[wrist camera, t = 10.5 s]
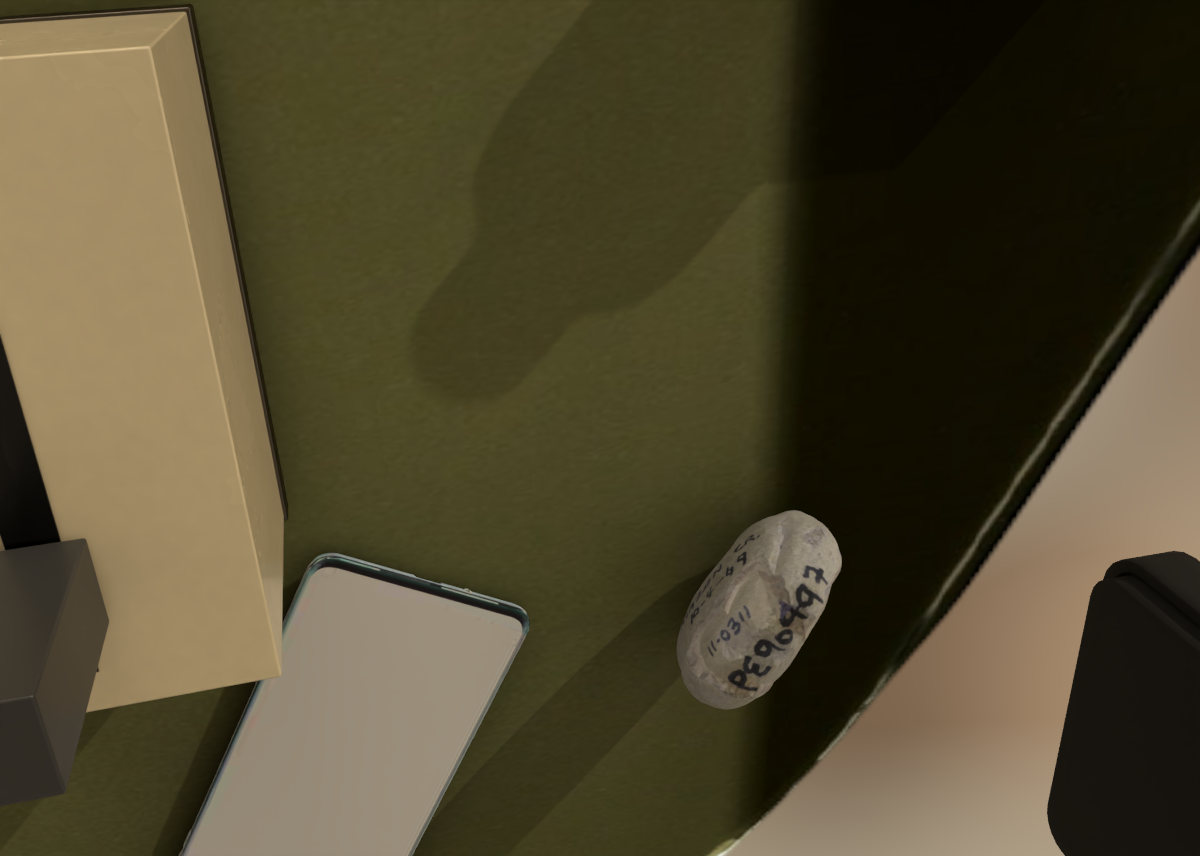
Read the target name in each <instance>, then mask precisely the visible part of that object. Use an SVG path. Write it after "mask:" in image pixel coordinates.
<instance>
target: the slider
mask: <svg viewBox="0 0 1200 856" xmlns="http://www.w3.org/2000/svg"><path fill="white" fill-rule="evenodd" d="M108 625H109V618H108V615H107V611H106V608H105V604H104V601H103V597H102V594H101V590H100V587H99V583H98V580H97V576H96V572H95V569H94V565H93V562H92V558H91V555H90V551H89V548H88V544H87V541H86V539H85V538H82V539H75V540H69V541H62V542H56V543H49V544H43V545H37V546H30V547H24V548H17V549H11V550H4V551H0V806H5V805H10V804H15V803H20V802H25V801H30V800H35V799H41V798H46V797H51V796H56V795H61V794H64V793H65V792H66V788H67V784H68V781H69V777H70V773H71V769H72V765H73V761H74V757H75V753H76V749H77V746H78V742H79V738H80V734H81V730H82V726H83V722H84V718H85V714H86V711H87V707H88V703H89V699H90V695H91V691H92V687H93V683H94V679H95V675H96V672H97V668H98V664H99V660H100V656H101V652H102V648H103V644H104V640H105V637H106V633H107V629H108Z"/></svg>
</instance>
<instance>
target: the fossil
mask: <svg viewBox="0 0 1200 856" xmlns="http://www.w3.org/2000/svg"><path fill="white" fill-rule="evenodd" d="M841 564H842V561H841V555H840V552H839V549H838V545H837V542H836V540H835V539H834V537H833V535H832V534H831V532H830V531H829V530H828V529H827V528H826V527H825V526H824V525H823V524H822V523H821V522H819V521H818V520H816V519H815V518H813V517H811V516H809V515H807V514H805V513H803V512H801V511H795V510H793V511H786V512H783V513H780V514H778V515H775V516H771V517H767V518H765V519H763V520H761V521H758V522H757V523H755V524H753V525H751V526H750V527H749V528H747V529H746V530H745V531H744V532H743V533H742V534H741V535H740V536H739V537H738V538H737V540H736V541H735V543H734V544H733V546H732V547H731V548H730V549H729V551H728V552H727V553H726V555H725V556H724V557H723V558H722V559H721V561H720V562H719V563H718V564H717V565H716V567H715V568H714V569H713V570H712V572H711V573H710V574H709V575H708V577H707V578H706V579H705V581H704V582H703V584H702V585H701V587H700V588H699V589H698V591H697V592H696V594H695V596H694V597H693V599H692V601H691V603H690V605H689V607H688V610H687V612H686V615H685V617H684V620H683V623H682V625H681V628H680V631H679V635H678V640H677V649H676V650H677V659H678V663H679V667H680V669H681V674H682V679H683V681H684V683H685V686H686V687H687V689H688V690H689V692H690V693H691V694H692V695H693V696H694V697H695V698H696V699H698V700H699V701H700V702H702V703H705V704H708V705H710V706H713V707H716V708H719V709H733V708H738V707H741V706H743V705H746V704H748V703H749V702H751V701H753V700H754V699H756V698H757V697H759V696H762V695H763V694H765V693H766V692H767V691H768V690H769V689H770V688H771V687H772V685H773V682H774V681H775V680H776V679H778V678H779V677H780V676H781V675H782V673H783V672H784V671H785V670H786V669H787V668H788V667H789V665H790V664H791V662H792V661H793V659H794V658H795V656H796V655H797V653H798V651H799V650H800V648H801V646H802V645H803V643H804V641H805V640H806V638H807V637H808V635H809V633H810V631H811V630H812V628H813V627H814V625H815V623H816V622H817V620H818V619H819V617H820V615H821V613H822V612H823V610H824V608H825V605H826V603H827V599H828V596H829V593H830V588H831V585H832V583H833V582H834V580H835V579H836V577H837V576H838V574H839V572H840V570H841Z"/></svg>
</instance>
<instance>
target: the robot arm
mask: <svg viewBox="0 0 1200 856" xmlns="http://www.w3.org/2000/svg"><path fill="white" fill-rule="evenodd" d="M1047 815H1048V822H1049V826H1050V829H1051V833H1052V835H1053V837H1054V839H1055V841H1056V844H1057V845H1058V846H1059V848H1060V849H1061V851H1062V852H1063V854H1064V855H1065V856H1200V562H1199V561H1198V560H1197V559H1196V558H1194V557H1192V556H1190V555H1188V554H1186V553H1184V552H1177V551H1172V552H1165V553H1159V554H1153V555H1147V556H1142V557H1136V558H1130V559H1124V560H1120V561H1117V562H1115V563H1113V564H1112V565H1111V566H1110V567H1109V568H1108V570H1107V571H1106V573H1105V576H1104V579H1103V580H1102V581H1099V582H1098V583H1097V584H1096V585H1095V586H1094V587H1093V590H1092V593H1091V596H1090V601H1089V606H1088V611H1087V615H1086V621H1085V625H1084V630H1083V635H1082V640H1081V645H1080V650H1079V655H1078V660H1077V664H1076V670H1075V674H1074V679H1073V684H1072V689H1071V694H1070V698H1069V703H1068V708H1067V714H1066V718H1065V723H1064V728H1063V733H1062V737H1061V742H1060V747H1059V753H1058V757H1057V762H1056V767H1055V772H1054V777H1053V781H1052V786H1051V791H1050V796H1049V801H1048V809H1047Z"/></svg>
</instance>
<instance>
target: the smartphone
mask: <svg viewBox="0 0 1200 856" xmlns="http://www.w3.org/2000/svg"><path fill="white" fill-rule="evenodd" d="M529 623H530V622H529V617H528V615H527V613H526V611H525V610H524V609H523V608H522V607H520V606H518V605H516V604H513V603H510V602H506V601H503V600H499V599H496V598H492V597H489V596H485V595H482V594H479V593H475V592H472V591H471V590H469V589H461V588H458V587H454V586H451V585H447V584H444V583H435V582H432V581H428V580H424V579H421V578H417V577H415V576H414V575H412V574H409V573H405V572H402V571H398V570H395V569H391V568H388V567H384V566H381V565H377V564H374V563H370V562H367V561H363V560H360V559H356V558H353V557H349V556H346V555H342V554H338V553H325V554H322V555H319V556H317V557H316V558H315V559H314V560H313V561H312V562H311V563H310V564H309V565H308V567H307V569H306V571H305V574H304V576H303V578H302V580H301V583H300V585H299V587H298V589H297V592H296V594H295V596H294V599H293V601H292V603H291V605H290V608H289V610H288V612H287V614H286V617H285V619H284V621H283V623H282V674H281V676H280V677H276V678H270V679H265V680H259V681H257V682H256V684H255V687H254V689H253V691H252V693H251V696H250V698H249V700H248V702H247V705H246V707H245V709H244V712H243V714H242V716H241V718H240V721H239V723H238V725H237V727H236V730H235V732H234V734H233V736H232V739H231V741H230V743H229V745H228V748H227V750H226V752H225V754H224V757H223V759H222V761H221V763H220V766H219V768H218V770H217V773H216V775H215V777H214V779H213V782H212V784H211V786H210V788H209V791H208V793H207V795H206V797H205V800H204V802H203V804H202V806H201V809H200V811H199V813H198V815H197V818H196V820H195V822H194V825H193V827H192V829H190V831H189V833H188V835H187V838H186V840H185V842H184V844H183V849H182V851H181V852H180V854H179V856H412V855H413V853H414V851H415V849H416V847H417V845H418V843H419V841H420V840H421V838H422V836H423V834H424V832H425V830H426V828H427V826H428V824H429V822H430V820H431V818H432V816H433V814H434V812H435V811H436V809H437V807H438V805H439V803H440V801H441V799H442V797H443V795H444V793H445V791H446V789H447V787H448V785H449V784H450V782H451V780H452V778H453V776H454V774H455V772H456V770H457V768H458V766H459V764H460V762H461V760H462V758H463V756H464V755H465V753H466V751H467V749H468V747H469V745H470V743H471V741H472V739H473V737H474V735H475V733H476V731H477V729H478V728H479V726H480V724H481V722H482V720H483V718H484V716H485V714H486V712H487V710H488V708H489V706H490V704H491V702H492V700H493V699H494V697H495V695H496V693H497V691H498V689H499V687H500V685H501V683H502V681H503V679H504V677H505V675H506V673H507V672H508V670H509V668H510V666H511V664H512V662H513V660H514V658H515V656H516V654H517V652H518V650H519V648H520V646H521V644H522V643H523V641H524V639H525V637H526V635H527V633H528V631H529Z"/></svg>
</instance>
